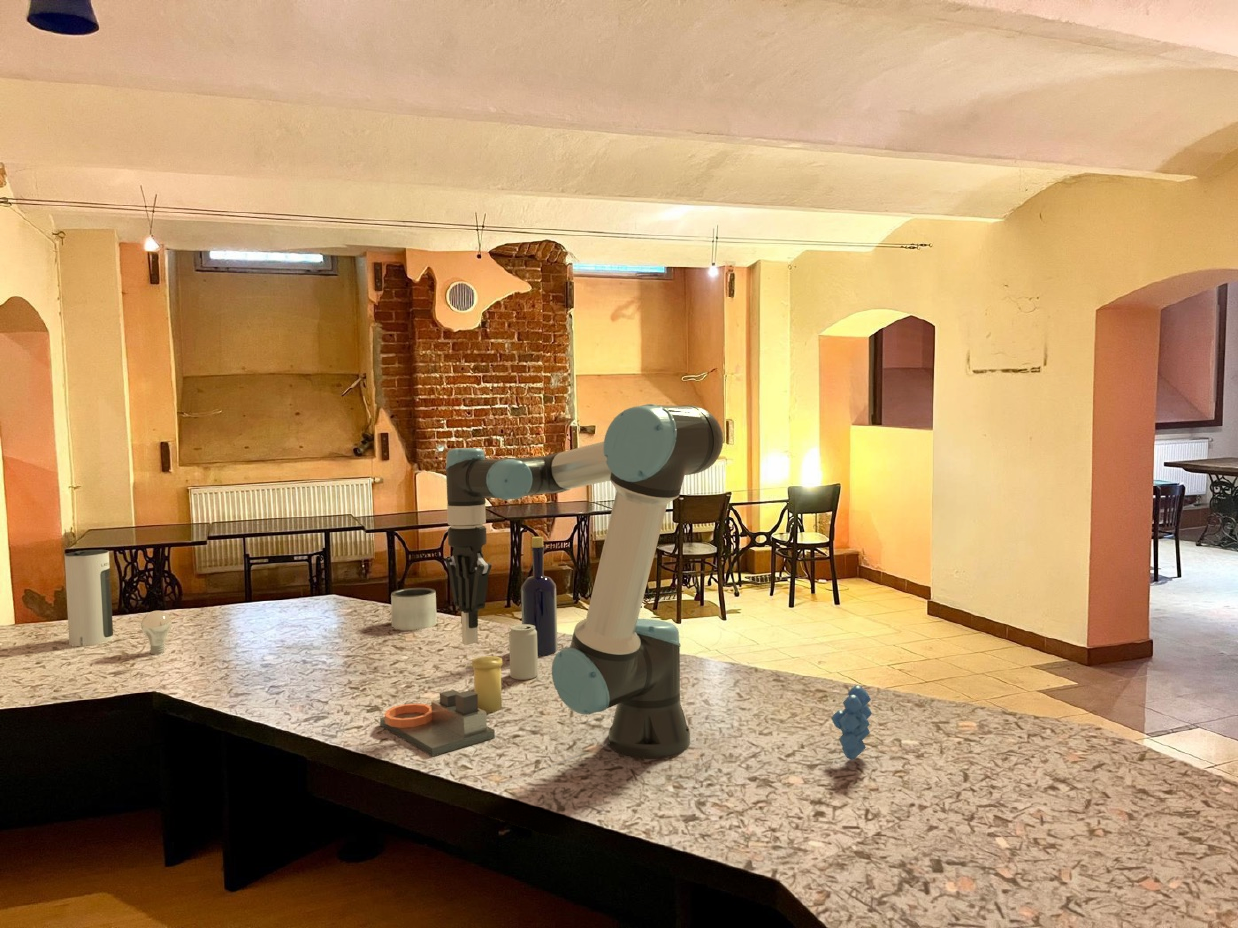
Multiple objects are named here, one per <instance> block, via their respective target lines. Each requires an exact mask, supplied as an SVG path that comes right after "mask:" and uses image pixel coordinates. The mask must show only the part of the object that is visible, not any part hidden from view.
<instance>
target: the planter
mask: <svg viewBox="0 0 1238 928" xmlns="http://www.w3.org/2000/svg"><path fill="white" fill-rule="evenodd" d="M436 596H437V594H436V590H435V589H434V588H429V587H427V588H426V587H412V588H410V587H409V588H403V589H398V590H395V591H392V592H391V594H390V598H391V599H390V601H391V602H390V603H391V628H392V627H394V628H395V629H394V628H393V629H394V630H397V629H401V630H400V631H418V629H420V630H425V629H429V628H433V627H434V626H436V625H437V623H438V619H437V618H438V617H437V597H436ZM416 629H417V630H416Z"/></svg>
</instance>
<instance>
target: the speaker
mask: <svg viewBox="0 0 1238 928" xmlns="http://www.w3.org/2000/svg"><path fill="white" fill-rule="evenodd" d="M64 567H65V568H64V570H65V587H66V588H65V589H66V605H67V608H66V609H67V610H66V611H67V624H68V625H67V626H68V628H67V629H68V644H69V646H71V645H73V646H72V647H74V646H84V647H86V646H85V645H92V646H94V645H93V644H98V643H102V642H106V643H109V642H111V641H112V640H113V639H114V625H113V607H112V587H111V568H110V551H109V550H106V549H89V550H77V551H72V552H68V553H65V554H64ZM108 641H109V642H108ZM102 644H103V643H102ZM98 645H99V644H98Z"/></svg>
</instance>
